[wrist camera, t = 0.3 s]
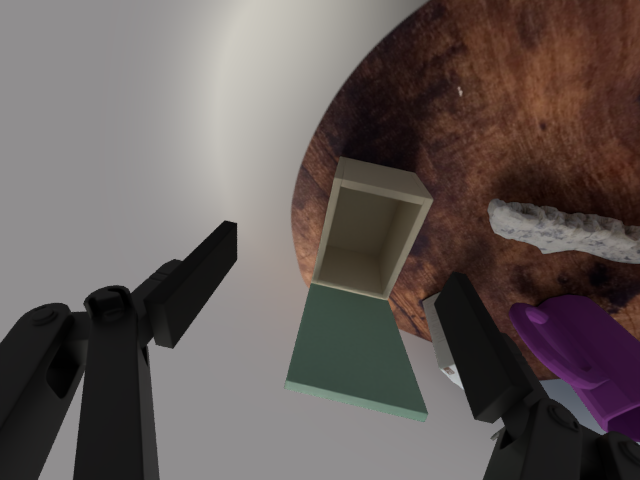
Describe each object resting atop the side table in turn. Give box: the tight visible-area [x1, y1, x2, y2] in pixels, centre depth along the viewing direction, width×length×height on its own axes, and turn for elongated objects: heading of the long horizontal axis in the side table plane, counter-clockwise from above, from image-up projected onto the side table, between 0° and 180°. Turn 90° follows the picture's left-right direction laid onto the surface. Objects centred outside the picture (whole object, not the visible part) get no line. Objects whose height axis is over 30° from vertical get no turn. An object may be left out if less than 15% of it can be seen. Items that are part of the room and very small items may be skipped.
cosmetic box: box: [423, 292, 464, 390], centre depth 36 cm, size 6×4×12 cm
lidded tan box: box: [311, 156, 433, 300], centre depth 31 cm, size 14×10×9 cm
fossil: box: [488, 199, 640, 264], centre depth 30 cm, size 21×6×5 cm, turn 80°
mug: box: [509, 295, 640, 442], centre depth 32 cm, size 9×16×15 cm, turn 73°
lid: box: [285, 283, 428, 422], centre depth 23 cm, size 14×10×1 cm
